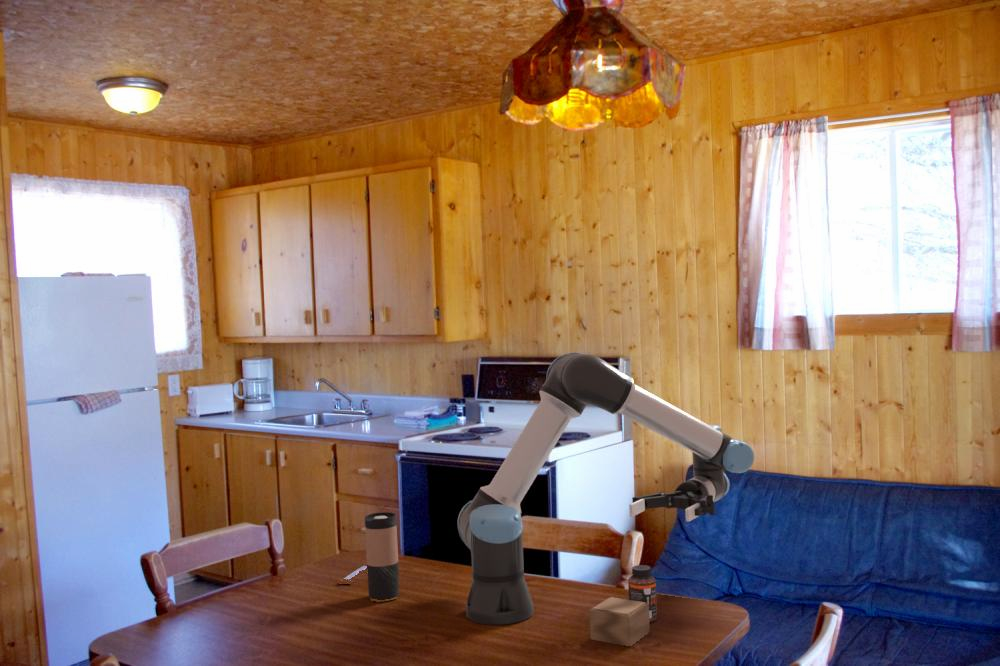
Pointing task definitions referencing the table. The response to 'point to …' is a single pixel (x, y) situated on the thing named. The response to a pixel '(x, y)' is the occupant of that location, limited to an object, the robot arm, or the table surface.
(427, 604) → the table surface
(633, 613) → the light wooden box
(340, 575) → the table surface
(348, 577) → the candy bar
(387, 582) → the travel mug
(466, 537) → the robot arm
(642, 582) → the supplement bottle
